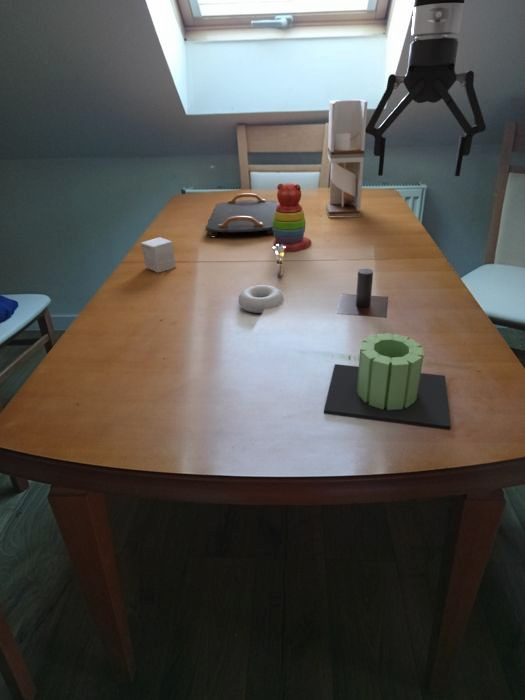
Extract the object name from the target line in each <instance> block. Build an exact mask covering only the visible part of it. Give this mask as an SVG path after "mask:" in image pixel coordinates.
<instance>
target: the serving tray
mask: <svg viewBox="0 0 525 700" xmlns="http://www.w3.org/2000/svg"><path fill="white" fill-rule="evenodd" d="M239 198H255V199H248V200H247V199H245V200H238V199H239ZM278 205H279V202H278V200H277V201H276V200H266V198H262V197H261V196H260V195H258V194H257V193H252V192H245V193H244V192H243V193H238V194H236V195H235V196H233V198H232V199H228V200H227V201H224V202H219V203H216V205H215V206H214V208H213V210H212V213H211V214H210V217H209V218H208V220H207V224H206V226H205V231H208V232H209V236H210V237H211V236H217V235H218V234H217V233H251V232H253V233H254V232H261V231H266V234H267V236H269V235H271V236H273V235H274V232H273V218H274V213H275V210H276V207H277V206H278Z"/></svg>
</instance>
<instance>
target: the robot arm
mask: <svg viewBox="0 0 525 700" xmlns="http://www.w3.org/2000/svg"><path fill="white" fill-rule="evenodd" d="M464 5H465V0H415V1H414V7H413V13H412V15H413V16H412V23H411V34H410V35H411V37H412V38H414V39H413V40H412V41H411V43H410V44H409V51H408V62H407V71H406V74H405V75H396V74H395V73H391V74H390V75H389V76H388V79H387V84H386V89H385V90H384V92H383V94H382V96H381V98H380V100H379V102H378V104H377V105H376V108H375V110H374V112H373V114H372V116H371V118H370V120H369V121H368V123H367V124H366V129H365V134H367V135H370V136H373V137H374V145H373V155H374V157H379V162H378V173H377V176H379V177H381V176H382V177H383V174H384V164H385V153H386V141H387V136H386V135H383V134H384V133H385V132H386V131H387V130H388V129H389V127H391V125H392V124H393V123H394V122H395V121H396V120H397V118H399V116H400V115H401V114H402V113H403V111H404V110H405V109H406V108H407V107H408V106H409V105H410V104H411V102H413V101H414V102H415V103H417V104H423V103H427V102H429V103H432V104H434V103H437V102H440V101H441V100H442V101H443V102H444V104H445V105H446V107H447V108H448V110H449V112H451V114H452V116H453V117H454V119H455V120H456V123H458V125H459V126H460V128H461V130H463V132H464V134H459V137H458V138H459V139H458V143H457V144H458V145H457V149H456V150H457V151H456V155H455V156H456V157H455V162H454V163H455V164H454V170H453V175H454V177H460V174H461V169H462V163H463V157H464V156H467V157H468V156H469V155H470V153H471V149H472V142H473V137H474V136H475V135H477V134H479V133H483V132H485V131H486V129H487V126H486V123H485V119H484V116H483V113H482V110H481V107H480V103H479V100H478V97H477V93H476V90H475V87H474V81H475V72H474V71H473V70H467V71H463V72H459V73H456V61H457V54H458V49H459V48H458V47H459V40H458V38H456V35H459V34H460V33H461V27H462V21H463V20H462V18H463V11H464ZM456 81H457V82H458V83H459V86H461V87H462V88H463V89H464V93H465V97H466V100H467V102H468V105H469V109H470V112H471V115H472V118H473V121H474V125H472V126H471V124H470V123H469V121H468V120H467V118H466V117H465V115H464V114H463V112H462V110H461V109H460V107H459V106H458V104H457V103H456V102H455V100H454V98H453V97H452V96H451V94H450V92H449V90H450V89H451V88H452V86H454V84H455V82H456ZM401 84H403V85H404V87H405V88H406V90H407V92H408V93H406V95H405V96H404V97H403V98H402V99H401V101H400V102H399V103H398V104H397V106H396V107H395V108H394V109H393V111H391V112H390V114H389V115H388V116H387V117H386V119H385V120H384V121H383V122H382V123H381V124H380V125H379V126H378V127H375V126H376V125H377V122H378V121H379V118H380V117H381V115H382V114H383V111H384V110H385V107H386V105H387V103H388V102H389V100H390V98H391V96H392V94H393V92H394V90H397V89H398V88H399V87H400V85H401Z"/></svg>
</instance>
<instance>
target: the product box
mask: <svg viewBox="0 0 525 700" xmlns="http://www.w3.org/2000/svg"><path fill="white" fill-rule="evenodd" d="M140 244H141V250H142V255H143V261H144V267H146V268H149V269H151V270H153V271H155V272H154V273H156V272H157V273H156V274H159V273H158V272H161V271H164V270H167V269H170V268H172V269H174V268H173V267H175V268H176V267H177V266H176V258H175V251H174V243H173V241H172V240H168V239H166V238H163V237H160V236H159V237H155V238H152V239H151V238H150V239H148V240H145V241H142V242H141V243H140ZM146 268H145V269H146ZM149 269H148V270H149ZM151 270H150V271H151ZM170 270H171V269H170ZM153 271H152V272H153ZM167 271H168V270H167ZM164 272H165V271H164ZM161 273H162V272H161Z"/></svg>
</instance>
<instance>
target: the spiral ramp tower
mask: <svg viewBox="0 0 525 700" xmlns="http://www.w3.org/2000/svg"><path fill="white" fill-rule="evenodd" d="M328 103H329V104H328V105H329V106H328V128H327V129H328V133H327V138H328V139H327V160H328V161H329V163H330V174H329V175H330V177H329V178H330V179H329V203H325V204H326V205H325V209H326V208H327V210H326V213H327V212H328V214H327V216H328V215H329V216H360V217H361V204H362V193H363V192H362V190H363V175H364V161H365V159H364V158H365V146H366V145H365V144H366V132H365V129H366V127H367V116H368V115H367V114H368V113H367V112H368V101H366V100H364V99H346V100H329V101H328Z"/></svg>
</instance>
